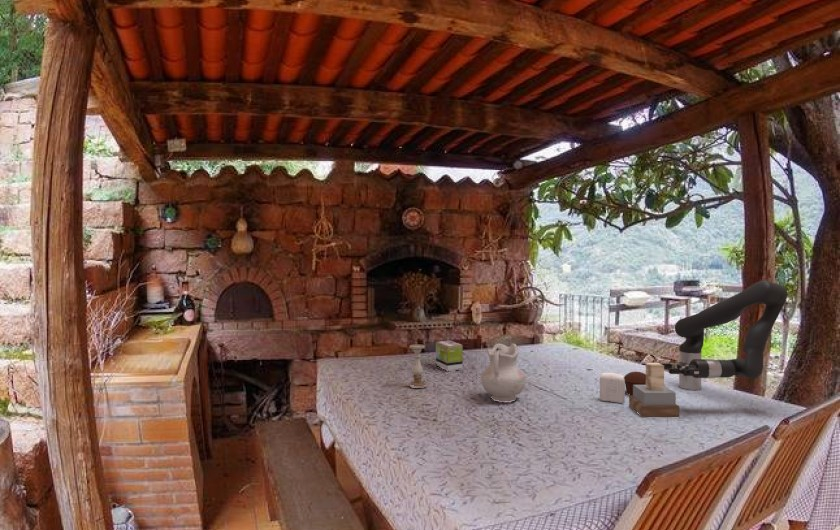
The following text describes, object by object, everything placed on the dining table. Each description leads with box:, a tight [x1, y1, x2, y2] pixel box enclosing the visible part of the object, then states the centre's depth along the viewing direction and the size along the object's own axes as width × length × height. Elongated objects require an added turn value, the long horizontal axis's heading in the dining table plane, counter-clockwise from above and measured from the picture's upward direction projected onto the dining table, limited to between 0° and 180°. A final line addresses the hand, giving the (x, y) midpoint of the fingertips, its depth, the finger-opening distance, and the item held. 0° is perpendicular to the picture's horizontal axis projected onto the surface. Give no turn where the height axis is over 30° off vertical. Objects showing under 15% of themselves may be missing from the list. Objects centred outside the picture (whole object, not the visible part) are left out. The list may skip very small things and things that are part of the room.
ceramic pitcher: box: [480, 342, 526, 401], centre depth 220 cm, size 22×20×25 cm
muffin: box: [624, 371, 646, 396], centre depth 227 cm, size 12×11×10 cm
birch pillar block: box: [645, 362, 665, 391], centre depth 201 cm, size 5×5×10 cm
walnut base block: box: [628, 395, 680, 418], centre depth 202 cm, size 14×14×5 cm
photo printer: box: [599, 372, 626, 404], centre depth 216 cm, size 10×4×12 cm, turn 61°
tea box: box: [435, 340, 464, 370], centre depth 281 cm, size 15×10×15 cm
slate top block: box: [633, 385, 677, 405], centre depth 201 cm, size 12×12×5 cm
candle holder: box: [409, 343, 426, 386], centre depth 243 cm, size 9×9×20 cm
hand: (664, 368), depth 202 cm, fingers open, 8 cm apart
